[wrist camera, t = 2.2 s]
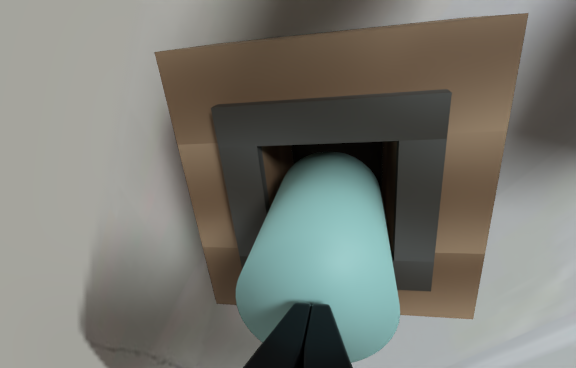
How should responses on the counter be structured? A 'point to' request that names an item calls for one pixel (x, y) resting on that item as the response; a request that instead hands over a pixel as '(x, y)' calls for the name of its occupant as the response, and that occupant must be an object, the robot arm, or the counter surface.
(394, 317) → the peg
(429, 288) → the socket block
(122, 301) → the counter surface
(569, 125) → the counter surface
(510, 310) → the counter surface
